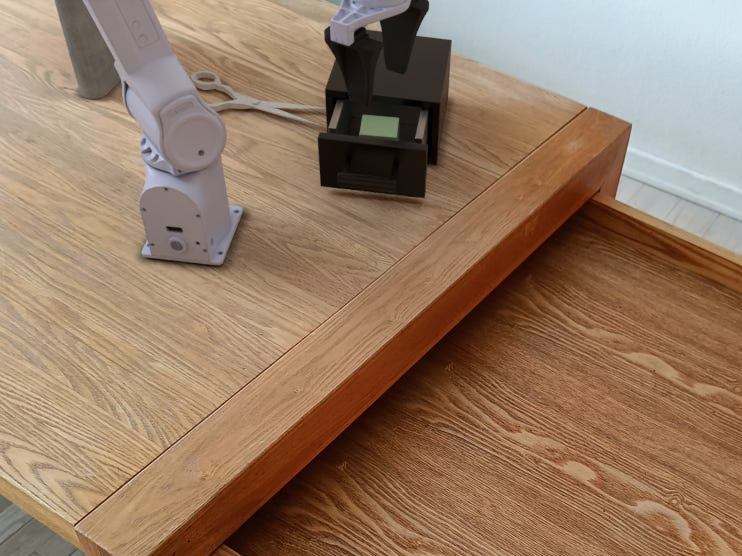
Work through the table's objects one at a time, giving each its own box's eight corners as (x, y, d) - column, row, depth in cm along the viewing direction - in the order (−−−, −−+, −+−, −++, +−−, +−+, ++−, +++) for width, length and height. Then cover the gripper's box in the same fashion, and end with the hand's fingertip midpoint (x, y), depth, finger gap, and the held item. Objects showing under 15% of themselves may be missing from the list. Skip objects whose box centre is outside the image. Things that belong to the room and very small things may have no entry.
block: (398, 150, 100) (399, 117, 96) (396, 170, 97) (396, 137, 94) (363, 147, 99) (362, 114, 96) (359, 167, 97) (359, 134, 94)
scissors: (183, 66, 109) (342, 92, 108) (185, 73, 109) (342, 98, 109) (149, 110, 102) (318, 138, 101) (151, 116, 103) (318, 144, 102)
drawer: (420, 222, 94) (422, 173, 89) (313, 210, 93) (309, 160, 89) (436, 132, 105) (439, 85, 100) (340, 121, 104) (338, 73, 100)
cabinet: (436, 165, 102) (440, 102, 96) (328, 152, 102) (324, 89, 96) (448, 100, 111) (451, 39, 105) (348, 88, 111) (346, 26, 105)
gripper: (378, -92, 86) (379, 47, 97) (297, -42, 78) (307, 105, 88) (443, -74, 85) (436, 65, 95) (367, -20, 76) (369, 126, 87)
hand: (378, 86), depth 92 cm, fingers open, 7 cm apart
